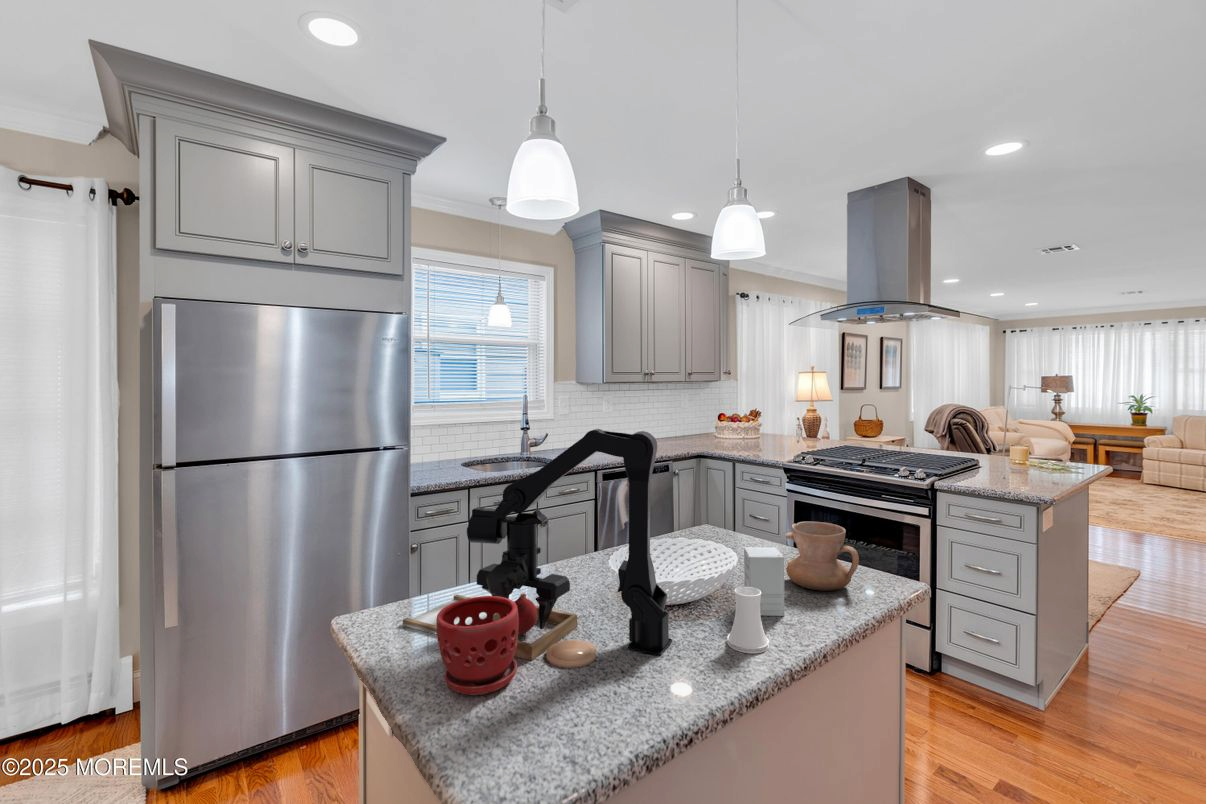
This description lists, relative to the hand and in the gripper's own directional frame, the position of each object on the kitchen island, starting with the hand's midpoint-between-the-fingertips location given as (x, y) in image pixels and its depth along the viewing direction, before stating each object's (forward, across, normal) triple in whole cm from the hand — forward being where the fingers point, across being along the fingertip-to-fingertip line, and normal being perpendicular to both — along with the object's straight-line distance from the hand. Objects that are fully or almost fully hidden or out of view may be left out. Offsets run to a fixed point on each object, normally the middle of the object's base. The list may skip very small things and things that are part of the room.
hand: (522, 624), depth 109 cm
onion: (+2, 0, 0) cm, 2 cm away
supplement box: (+2, +39, +34) cm, 52 cm away
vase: (+2, +40, +16) cm, 43 cm away
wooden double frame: (+2, -8, 0) cm, 8 cm away
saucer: (+2, +13, -3) cm, 13 cm away
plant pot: (+2, +4, -18) cm, 18 cm away
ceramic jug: (+2, +48, +55) cm, 73 cm away
